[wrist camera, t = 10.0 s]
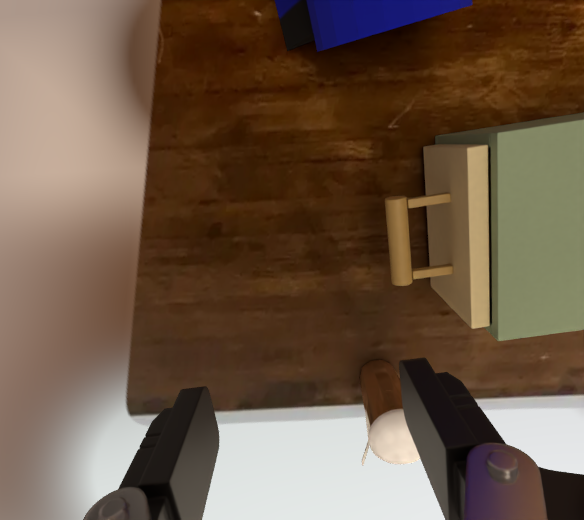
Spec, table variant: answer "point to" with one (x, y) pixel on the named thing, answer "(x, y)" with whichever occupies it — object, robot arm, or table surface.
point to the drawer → (450, 229)
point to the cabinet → (535, 224)
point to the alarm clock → (352, 18)
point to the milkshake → (385, 414)
